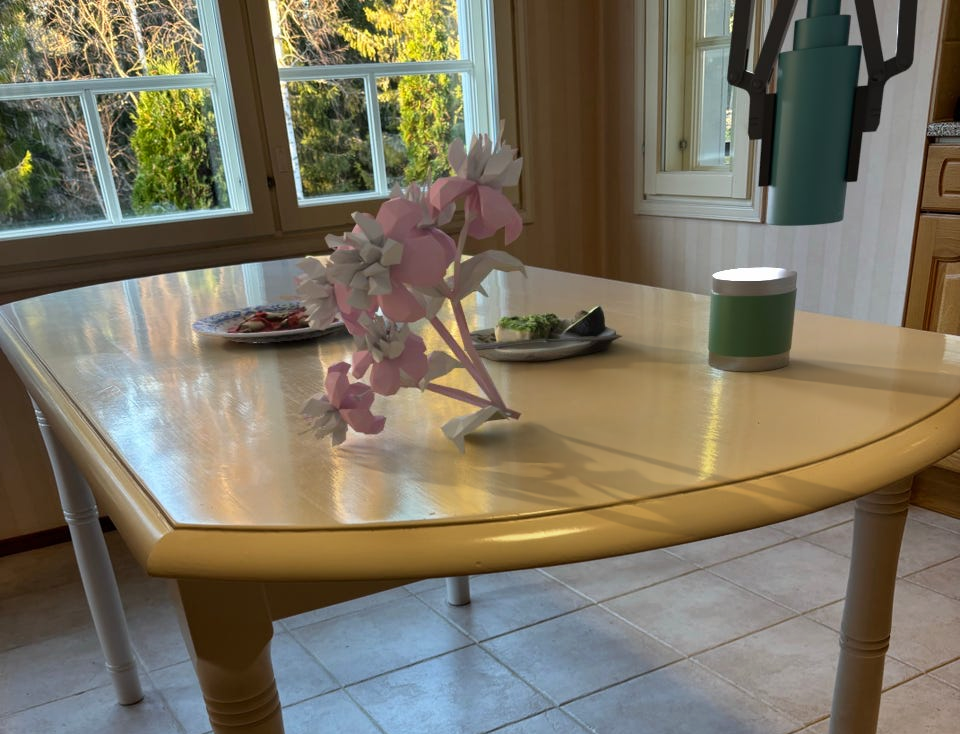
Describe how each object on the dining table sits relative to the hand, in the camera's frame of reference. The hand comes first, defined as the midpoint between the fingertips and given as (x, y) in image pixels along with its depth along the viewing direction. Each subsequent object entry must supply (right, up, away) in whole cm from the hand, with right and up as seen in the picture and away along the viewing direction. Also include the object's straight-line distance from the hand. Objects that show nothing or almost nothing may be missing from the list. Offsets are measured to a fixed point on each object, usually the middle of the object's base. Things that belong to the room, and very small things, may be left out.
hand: (807, 182), depth 75 cm
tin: (+2, -7, +25) cm, 26 cm away
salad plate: (-19, -1, +39) cm, 43 cm away
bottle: (0, -3, +1) cm, 3 cm away
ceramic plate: (-55, +8, +60) cm, 81 cm away
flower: (-34, -20, +8) cm, 40 cm away
